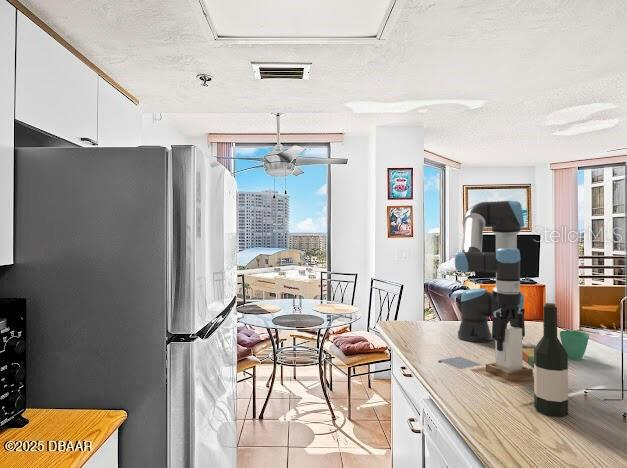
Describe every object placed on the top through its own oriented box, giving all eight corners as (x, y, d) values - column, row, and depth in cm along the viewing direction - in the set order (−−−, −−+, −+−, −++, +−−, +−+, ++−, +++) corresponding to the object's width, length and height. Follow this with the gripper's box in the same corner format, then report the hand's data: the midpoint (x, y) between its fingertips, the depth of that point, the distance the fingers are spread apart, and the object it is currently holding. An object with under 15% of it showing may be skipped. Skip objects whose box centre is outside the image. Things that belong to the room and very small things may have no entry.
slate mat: (438, 362, 159) (438, 360, 159) (460, 358, 164) (460, 356, 164) (459, 370, 149) (459, 368, 149) (481, 366, 154) (481, 364, 154)
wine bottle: (527, 405, 119) (527, 301, 119) (555, 404, 120) (554, 301, 120) (546, 417, 111) (545, 306, 111) (575, 416, 111) (574, 305, 112)
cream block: (495, 368, 145) (495, 326, 145) (507, 366, 148) (507, 324, 148) (509, 374, 140) (509, 330, 140) (522, 371, 142) (522, 328, 142)
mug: (591, 363, 156) (591, 337, 157) (561, 360, 161) (561, 334, 161) (584, 353, 170) (584, 329, 170) (556, 350, 174) (556, 327, 174)
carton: (539, 359, 164) (539, 348, 164) (558, 372, 148) (558, 360, 148) (517, 358, 165) (517, 347, 165) (533, 371, 149) (533, 360, 149)
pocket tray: (469, 371, 148) (469, 362, 148) (505, 365, 155) (505, 356, 155) (512, 388, 132) (512, 378, 132) (550, 380, 139) (550, 370, 139)
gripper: (497, 296, 136) (497, 365, 136) (536, 292, 144) (537, 357, 144) (479, 293, 143) (480, 359, 143) (518, 289, 151) (518, 352, 151)
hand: (508, 358), depth 144 cm, fingers closed on cream block, 6 cm apart
